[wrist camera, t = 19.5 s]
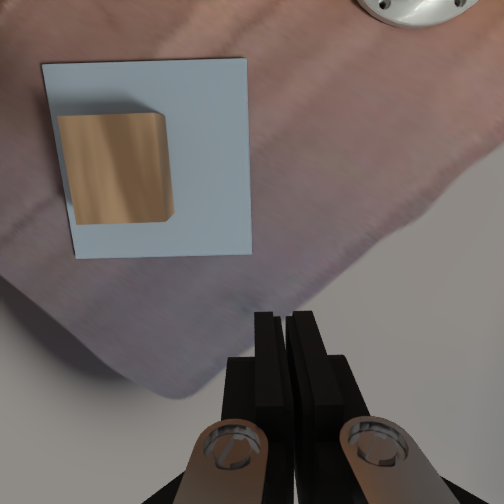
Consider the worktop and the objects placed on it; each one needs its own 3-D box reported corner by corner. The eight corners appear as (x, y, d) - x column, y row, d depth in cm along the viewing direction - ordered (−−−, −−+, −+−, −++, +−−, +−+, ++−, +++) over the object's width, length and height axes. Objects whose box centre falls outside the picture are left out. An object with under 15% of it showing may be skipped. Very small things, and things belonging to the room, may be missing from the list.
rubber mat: (246, 59, 29) (246, 58, 29) (252, 252, 34) (252, 254, 34) (45, 65, 29) (41, 64, 29) (78, 256, 34) (76, 258, 34)
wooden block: (154, 112, 27) (57, 116, 27) (165, 222, 29) (76, 225, 29) (165, 115, 30) (79, 118, 30) (175, 212, 32) (95, 215, 32)
